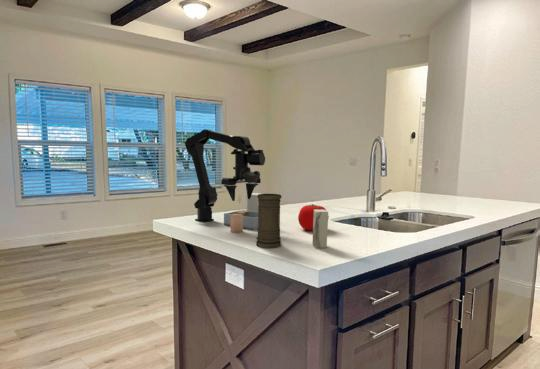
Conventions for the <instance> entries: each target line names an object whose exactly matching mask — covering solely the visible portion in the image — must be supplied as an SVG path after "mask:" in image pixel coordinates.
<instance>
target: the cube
mask: <svg viewBox="0 0 540 369" xmlns="http://www.w3.org/2000/svg"><path fill="white" fill-rule="evenodd" d="M242 210H243V209H241V210H236V211H233V212H234V214H243V216H245V217H249V211H242Z"/></svg>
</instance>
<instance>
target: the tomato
mask: <svg viewBox="0 0 540 369" xmlns="http://www.w3.org/2000/svg"><path fill="white" fill-rule="evenodd" d="M300 208H301V209H300V210H299V211H298V212H299V213H298V217H297V221H298V223H299V226H301V228H302V229H304V230H307V231H312V232H313V218H314V209H318V210H326V211H327V212H328V210H327V209H326V208H325V207H324V206H321V205H317V204H312V203H311V204H307V205H304V206H302V207H300ZM329 218H330V217H329V215H328V219H329Z"/></svg>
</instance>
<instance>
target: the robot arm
mask: <svg viewBox="0 0 540 369" xmlns="http://www.w3.org/2000/svg"><path fill="white" fill-rule="evenodd" d="M209 140H213V141H216V142H219V143H224V144H227V145H229V146H230V147H232V148H234V149H233V150H232V151H231V152H230V154H231V155H234V162H235V163H234V166H232V168H233V170H234V175H233V176H232V177H222V179H221V180H220V182H221V185H223V187H225V188H226V191H227V192H228V194H229V196H230V199H231V201H233V202H235V199H236V188H237V187H238V185H237V184H240V183H241V184H242V183H245V189H246V194H247V197H248V199H250V198H251V195H252V193H254V189H255V188H256V187H257V186H259V184H261V172H260V171H258V170H254V171H251V167H249V166H262V167H263V166H264V165H265V163H266V156H265V153H264V150H263V149H255V148H254V147H253V145H252V143H251V140H250V139H249V137H247V136H241V135H240V136H239V135H229V134H226V133H223V132H218V131H215V130H212V129H202V130H201V131H200V132H197V133H196V134H193V135H191V137H188V138H186V140H185V142H184V146H185V150H186V151H187V153H188V154H189V155H190V156H191V158H192V161H193V166H194V169H195V174H196V178H197V182H198V185H199V188H198V193H197V194H198V199H197V200H196V201H195V202H194V205H193V206H194V208H195V209H197V211H196V212H197V213H196V214H197V216H196V218H195V219H194V220H195V221H197V222H202V223H206V222H211V221H214V220H215V219H214V218H213V211H212V208H213V207H214V206H215V204H216V202H217V200H218V195H219V194H218V192H217V188H216V187H213V186H212V185H211V183H210V179H209V175H208V172H207V167H206V164H205V160H204V152H205V151H204V150H205V146H204V145H206V144H207V143H208V141H209Z"/></svg>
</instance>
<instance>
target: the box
mask: <svg viewBox="0 0 540 369" xmlns="http://www.w3.org/2000/svg"><path fill="white" fill-rule="evenodd" d="M326 210H327V209H326ZM326 210H318V209H314V218H313V231H312V243H311V244H312V246H313V247H314V248H315V249H326V248H327V246H328V245H327V244H328V228H329V225H328V224H329V218H328V216H329V211H328V210H327V211H326Z"/></svg>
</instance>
